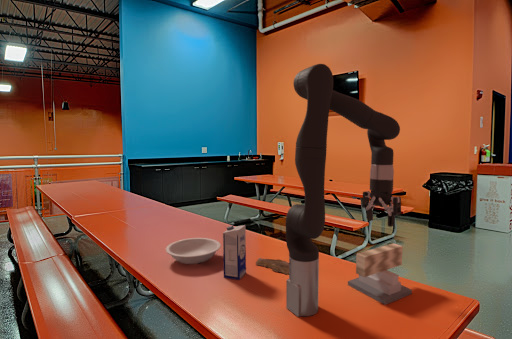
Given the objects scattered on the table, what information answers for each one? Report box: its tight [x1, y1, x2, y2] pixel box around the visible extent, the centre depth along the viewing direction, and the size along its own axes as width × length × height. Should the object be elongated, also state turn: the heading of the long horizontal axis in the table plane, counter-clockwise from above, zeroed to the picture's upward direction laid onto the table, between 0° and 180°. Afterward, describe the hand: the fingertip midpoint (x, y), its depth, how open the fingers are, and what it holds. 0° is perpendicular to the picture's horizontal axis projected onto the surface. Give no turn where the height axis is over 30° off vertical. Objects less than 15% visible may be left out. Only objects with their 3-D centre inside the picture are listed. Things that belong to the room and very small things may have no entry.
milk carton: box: [222, 224, 247, 281], centre depth 122 cm, size 7×7×20 cm
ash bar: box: [355, 242, 404, 277], centre depth 110 cm, size 20×4×7 cm, turn 120°
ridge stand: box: [347, 269, 413, 306], centre depth 110 cm, size 14×16×8 cm
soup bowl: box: [165, 237, 222, 265], centre depth 138 cm, size 24×24×7 cm
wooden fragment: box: [255, 257, 289, 276], centre depth 130 cm, size 26×11×1 cm, turn 48°
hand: (380, 223), depth 108 cm, fingers open, 8 cm apart
